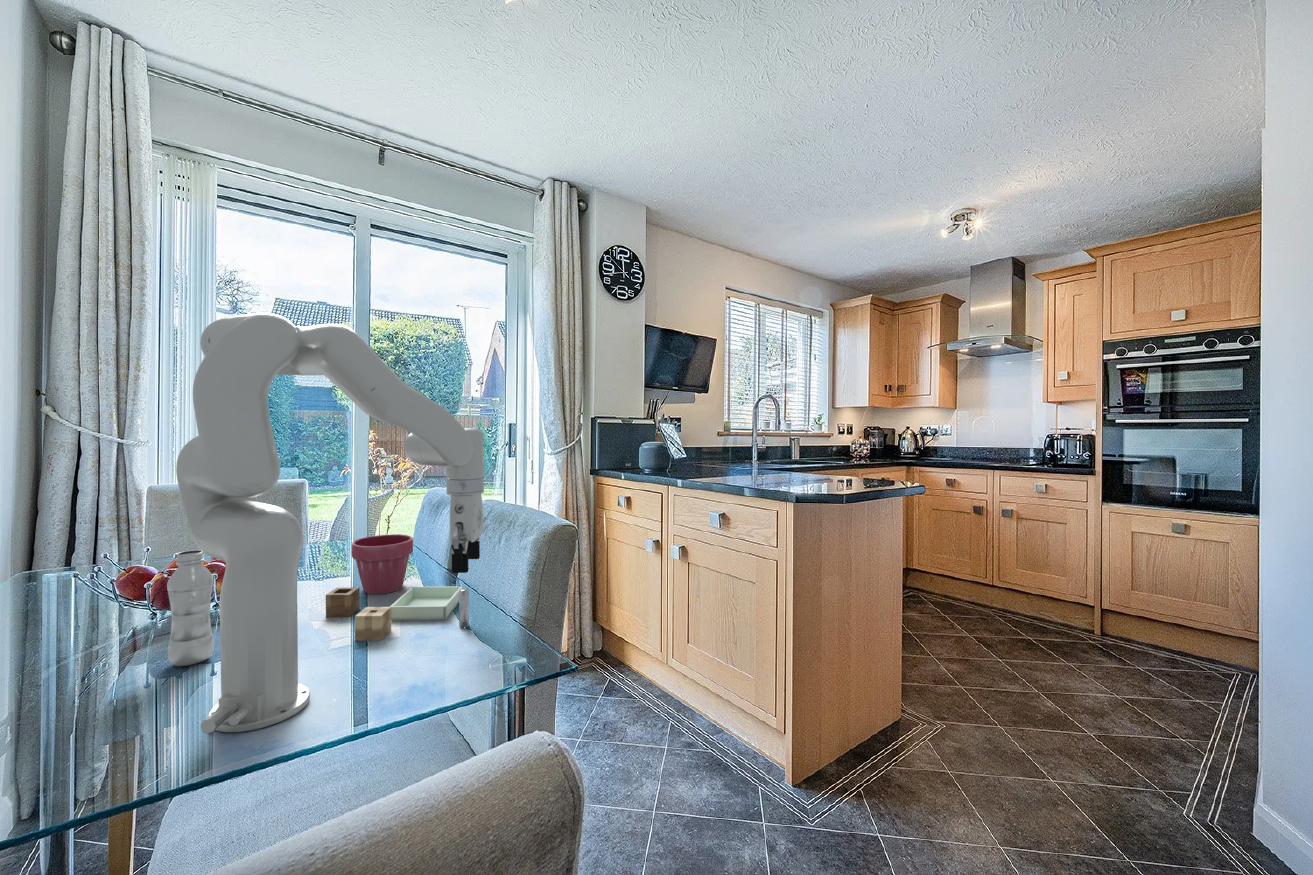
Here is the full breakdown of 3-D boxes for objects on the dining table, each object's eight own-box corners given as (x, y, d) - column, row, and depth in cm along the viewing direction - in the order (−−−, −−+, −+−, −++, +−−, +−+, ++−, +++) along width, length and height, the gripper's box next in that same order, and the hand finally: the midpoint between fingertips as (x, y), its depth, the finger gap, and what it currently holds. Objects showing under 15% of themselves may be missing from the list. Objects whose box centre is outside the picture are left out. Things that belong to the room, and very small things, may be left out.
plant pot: (363, 581, 147) (363, 533, 146) (418, 579, 149) (419, 532, 149) (342, 599, 133) (342, 546, 132) (404, 596, 135) (404, 545, 135)
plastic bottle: (158, 672, 95) (156, 558, 94) (181, 655, 101) (179, 548, 100) (202, 668, 96) (201, 556, 96) (222, 652, 103) (220, 547, 102)
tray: (445, 619, 121) (445, 606, 121) (389, 620, 120) (389, 606, 120) (462, 598, 135) (462, 586, 135) (412, 598, 134) (412, 586, 134)
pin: (467, 628, 117) (467, 591, 116) (457, 628, 116) (458, 591, 116) (470, 624, 119) (470, 588, 118) (460, 624, 118) (460, 588, 118)
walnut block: (349, 616, 122) (349, 594, 121) (325, 616, 121) (325, 594, 121) (359, 608, 127) (359, 587, 126) (337, 608, 126) (336, 587, 126)
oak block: (381, 640, 110) (381, 615, 110) (355, 640, 109) (355, 615, 109) (391, 630, 115) (391, 606, 115) (366, 630, 114) (366, 607, 114)
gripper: (473, 492, 108) (474, 578, 109) (492, 480, 125) (492, 553, 126) (434, 493, 107) (435, 578, 109) (458, 480, 125) (459, 554, 126)
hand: (466, 565), depth 117 cm, fingers open, 9 cm apart
